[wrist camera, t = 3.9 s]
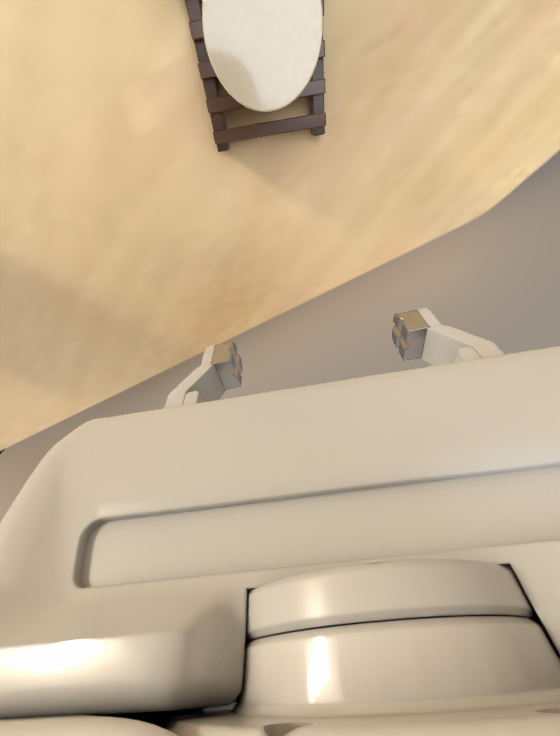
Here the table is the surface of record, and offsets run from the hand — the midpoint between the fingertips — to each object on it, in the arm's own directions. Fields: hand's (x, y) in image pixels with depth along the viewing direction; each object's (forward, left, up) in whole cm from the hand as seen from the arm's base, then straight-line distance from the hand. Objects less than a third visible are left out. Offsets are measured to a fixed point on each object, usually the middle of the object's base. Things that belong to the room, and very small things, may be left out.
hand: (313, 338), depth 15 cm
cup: (+11, +4, -21) cm, 24 cm away
